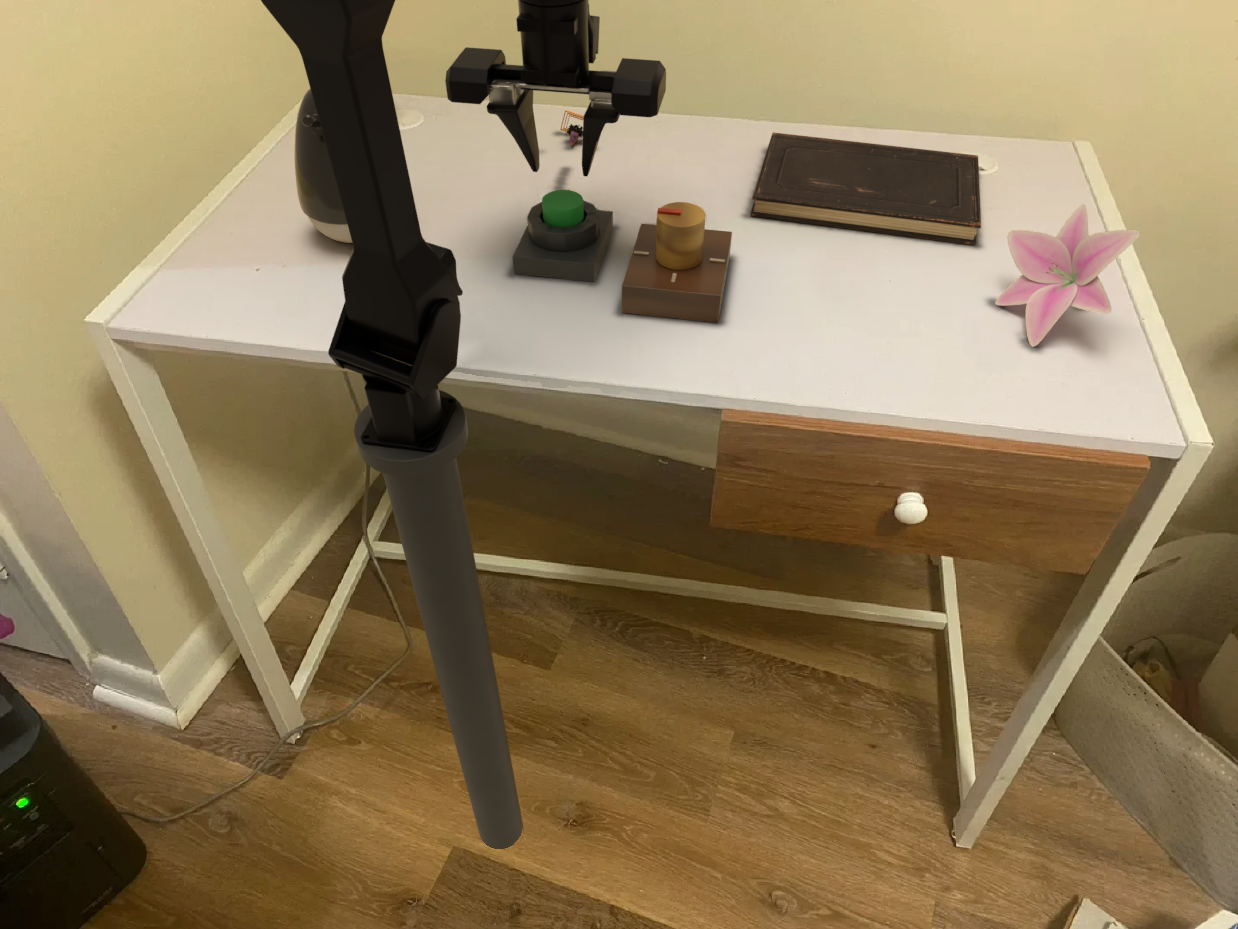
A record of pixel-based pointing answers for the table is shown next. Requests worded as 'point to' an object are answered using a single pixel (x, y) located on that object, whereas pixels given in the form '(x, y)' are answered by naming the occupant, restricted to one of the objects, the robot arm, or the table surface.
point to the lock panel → (676, 280)
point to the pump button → (563, 208)
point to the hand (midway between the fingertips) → (561, 172)
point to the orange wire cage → (573, 128)
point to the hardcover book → (870, 188)
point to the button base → (564, 246)
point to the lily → (1061, 271)
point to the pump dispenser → (317, 175)
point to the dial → (680, 235)
